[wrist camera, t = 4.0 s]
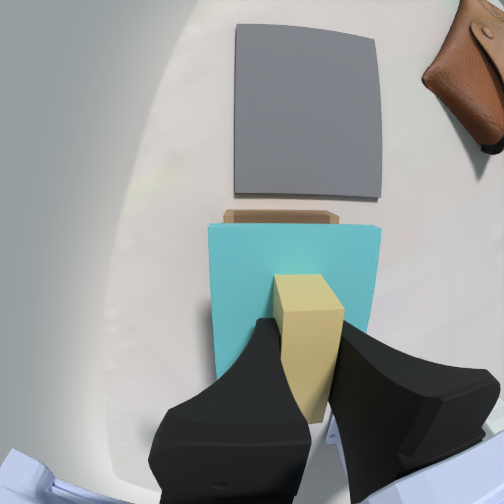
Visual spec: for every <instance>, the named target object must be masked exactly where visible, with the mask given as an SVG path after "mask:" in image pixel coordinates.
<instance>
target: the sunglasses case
mask: <svg viewBox="0 0 504 504" xmlns="http://www.w3.org/2000/svg"><path fill="white" fill-rule="evenodd" d="M422 80H423V82H424V85H425V86H426V88H427V89H429V90H430V91H432V92H433V93H435V94H436V95H437V96H438V97H439V98H440V100H441V101H442V102H443V103H444V104H445V105H446V106H447V107H448V108H449V109H450V110H451V112H452V113H453V114H454V115H455V116H456V117H457V118H458V120H459V121H460V122H461V123H462V124H463V125H464V127H465V128H466V129H467V130H468V132H469V133H470V134H471V135H472V136H473V138H474V139H475V140H476V142H477V143H478V144H479V145H480V146H481V151H483V152H485V153H487V154H492V155H495V154H499V153H501V152H502V151H503V150H504V12H503V11H502V10H500V9H499V8H497V7H496V6H494V5H493V4H491V3H490V2H488V1H486V0H460V3H459V7H458V11H457V13H456V15H455V18H454V21H453V23H452V25H451V28H450V30H449V32H448V34H447V36H446V39H445V41H444V43H443V45H442V47H441V49H440V51H439V53H438V54H437V56H436V58H435V59H434V61H433V62H432V64H431V65H430V66H429V67H428V68H427V70H426V71H425V72H424V74H423V77H422Z"/></svg>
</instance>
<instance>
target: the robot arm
mask: <svg viewBox="0 0 504 504" xmlns="http://www.w3.org/2000/svg"><path fill="white" fill-rule="evenodd" d="M499 394H500V383H499V382H498V381H497V379H496V378H495V377H494V376H493V375H492V374H491V373H490V372H489V371H488V370H486V369H472V368H460V367H453V366H447V365H442V364H437V363H433V362H430V361H426V360H424V359H419V358H416V357H413V356H410V355H408V354H405V353H403V352H401V351H398V350H396V349H394V348H391V347H389V346H387V345H385V344H384V343H382V342H380V341H378V340H376V339H374V338H373V337H371V336H369V335H367V334H366V333H364V332H363V331H361V330H359V329H358V328H356V327H355V326H353V325H351V324H350V323H348V322H347V321H345V320H343V325H342V331H341V337H340V343H339V349H338V354H337V359H336V365H335V370H334V374H333V379H332V384H331V389H330V393H329V397H328V402H329V404H330V407H331V409H332V412H333V415H332V419H331V422H330V426H329V429H328V433H327V436H326V439H325V442H326V444H336V445H337V449H338V452H339V455H340V458H341V462H342V465H343V468H344V472H345V475H346V478H347V482H348V485H349V490H350V500H351V504H504V430H502V431H499V432H498V433H496V434H494V435H493V436H491V437H489V438H487V439H486V440H484V441H483V440H482V439H483V438H484V437H485V436H486V433H485V431H484V430H483V429H482V426H483V424H484V423H485V421H486V420H487V418H488V416H489V415H490V413H491V411H492V410H493V408H494V406H495V404H496V402H497V400H498V398H499ZM310 447H311V435H310V431H309V426H308V422H307V420H306V418H305V417H304V415H303V414H302V412H301V410H300V408H299V406H298V404H297V402H296V401H295V399H294V396H293V394H292V391H291V389H290V386H289V384H288V381H287V378H286V375H285V372H284V369H283V365H282V362H281V358H280V352H279V333H278V325H277V322H276V320H275V318H258V319H257V320H256V325H255V329H254V331H253V334H252V336H251V338H250V340H249V341H248V343H247V345H246V347H245V348H244V350H243V351H242V353H241V354H240V356H239V357H238V358H237V360H236V361H235V362H234V363H233V365H232V366H231V367H230V368H229V369H228V370H227V371H226V372H225V373H224V374H223V375H222V376H221V377H220V378H219V379H218V380H217V381H216V382H214V383H213V384H212V385H211V386H209V387H208V388H207V389H205V390H204V391H202V392H201V393H199V394H198V395H196V396H195V397H193V398H191V399H189V400H187V401H185V402H183V403H181V404H179V405H177V406H175V407H173V408H171V409H169V410H168V411H167V413H166V415H165V416H164V418H163V420H162V422H161V424H160V426H159V428H158V430H157V432H156V434H155V437H154V440H153V443H152V447H151V450H150V454H149V458H148V462H149V466H150V469H151V471H152V473H153V475H154V477H155V478H156V480H157V482H158V484H159V486H160V488H161V489H162V494H161V499H160V503H159V504H292V502H293V499H294V496H296V495H297V492H298V489H299V486H300V483H301V479H302V476H303V473H304V469H305V466H306V462H307V458H308V455H309V451H310ZM0 504H134V503H130V502H125V501H122V500H118V499H114V498H111V497H107V496H104V495H101V494H98V493H95V492H92V491H89V490H86V489H83V488H80V487H78V486H75V485H72V484H70V483H67V482H65V481H62V480H60V479H58V478H55V476H54V475H53V473H52V472H51V471H50V470H49V468H48V467H47V466H46V465H44V464H43V463H41V462H40V461H39V460H37V459H35V458H33V457H31V456H29V455H27V454H25V453H23V452H21V451H19V450H17V449H15V448H12V449H11V451H10V453H9V454H8V456H7V457H6V459H5V460H4V462H3V464H2V465H1V467H0Z"/></svg>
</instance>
